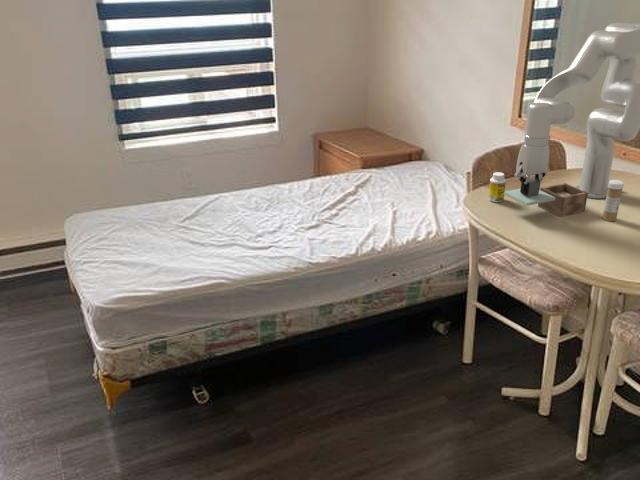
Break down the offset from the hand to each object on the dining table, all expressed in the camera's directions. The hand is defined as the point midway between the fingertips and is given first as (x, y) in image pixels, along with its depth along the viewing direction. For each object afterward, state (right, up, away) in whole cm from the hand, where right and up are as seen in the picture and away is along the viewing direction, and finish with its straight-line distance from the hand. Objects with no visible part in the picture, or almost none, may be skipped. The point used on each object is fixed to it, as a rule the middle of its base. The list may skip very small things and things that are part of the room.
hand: (529, 192), depth 203 cm
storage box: (+13, -5, +6) cm, 16 cm away
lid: (0, -3, +1) cm, 3 cm away
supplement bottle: (-7, -2, +16) cm, 17 cm away
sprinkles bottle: (+26, -10, -3) cm, 28 cm away
